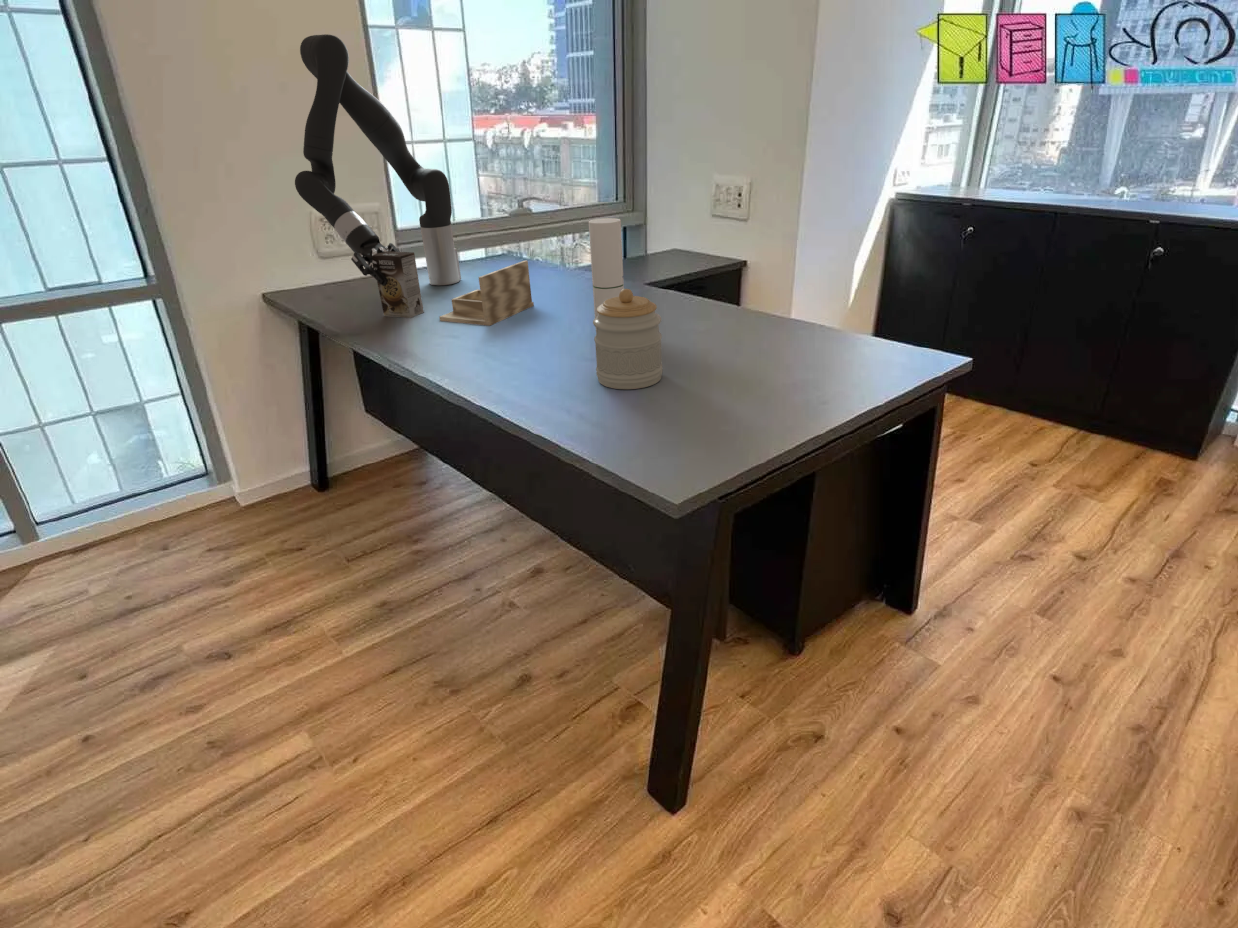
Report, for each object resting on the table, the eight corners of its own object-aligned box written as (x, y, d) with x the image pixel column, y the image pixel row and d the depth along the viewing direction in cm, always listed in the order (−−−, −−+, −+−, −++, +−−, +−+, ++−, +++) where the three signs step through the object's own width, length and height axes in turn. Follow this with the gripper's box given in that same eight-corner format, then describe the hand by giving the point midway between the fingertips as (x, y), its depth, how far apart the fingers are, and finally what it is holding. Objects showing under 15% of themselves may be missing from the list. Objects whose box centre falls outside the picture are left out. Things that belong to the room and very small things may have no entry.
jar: (672, 384, 137) (670, 292, 129) (607, 395, 134) (601, 301, 126) (650, 364, 149) (647, 278, 141) (589, 373, 146) (583, 285, 138)
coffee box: (382, 316, 194) (370, 255, 186) (397, 310, 199) (386, 250, 191) (410, 318, 190) (399, 256, 183) (425, 312, 196) (414, 251, 188)
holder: (486, 301, 203) (480, 258, 197) (533, 305, 196) (529, 260, 190) (439, 320, 187) (432, 273, 182) (489, 325, 180) (483, 277, 175)
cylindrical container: (627, 325, 174) (622, 217, 163) (624, 334, 168) (618, 222, 157) (597, 326, 175) (590, 218, 164) (593, 335, 169) (586, 224, 157)
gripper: (341, 228, 182) (383, 276, 182) (381, 219, 193) (421, 265, 193) (330, 248, 187) (372, 296, 187) (371, 239, 198) (410, 283, 198)
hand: (397, 280), depth 190 cm, fingers open, 8 cm apart
